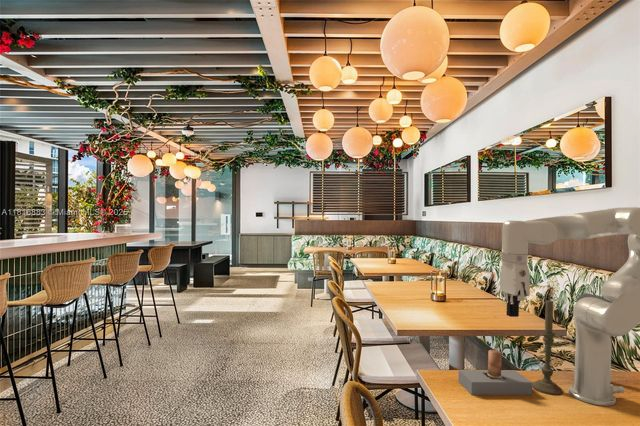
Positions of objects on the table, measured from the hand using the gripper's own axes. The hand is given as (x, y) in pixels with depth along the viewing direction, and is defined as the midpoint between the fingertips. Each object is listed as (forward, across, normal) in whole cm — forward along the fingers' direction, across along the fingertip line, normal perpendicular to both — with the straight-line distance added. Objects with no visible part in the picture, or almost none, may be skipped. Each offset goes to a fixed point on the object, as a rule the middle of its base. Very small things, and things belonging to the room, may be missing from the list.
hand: (512, 315), depth 129 cm
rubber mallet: (+25, +12, -38) cm, 47 cm away
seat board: (+25, +4, +3) cm, 26 cm away
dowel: (+25, +4, +3) cm, 26 cm away
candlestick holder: (+25, +4, -15) cm, 30 cm away
